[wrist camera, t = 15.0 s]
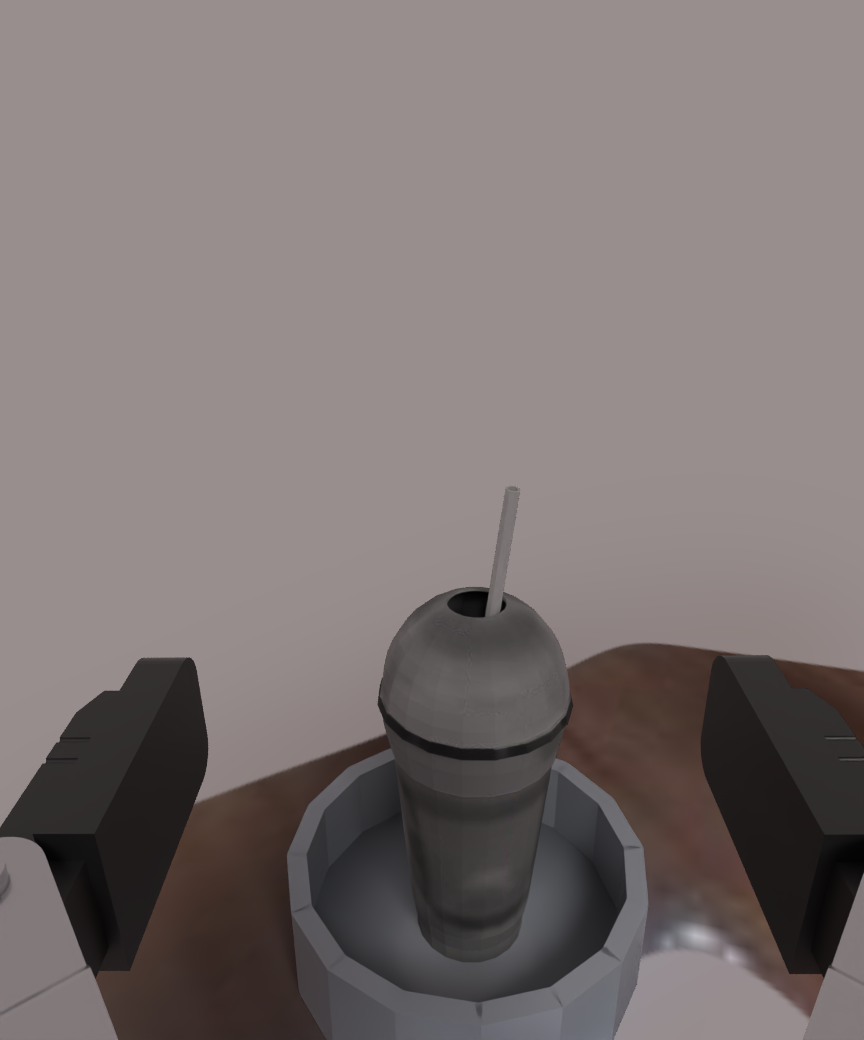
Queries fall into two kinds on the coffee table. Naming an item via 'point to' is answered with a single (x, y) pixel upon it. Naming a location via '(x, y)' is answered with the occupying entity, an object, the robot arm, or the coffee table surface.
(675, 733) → the coffee table surface
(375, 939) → the bowl
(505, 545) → the beverage cup
